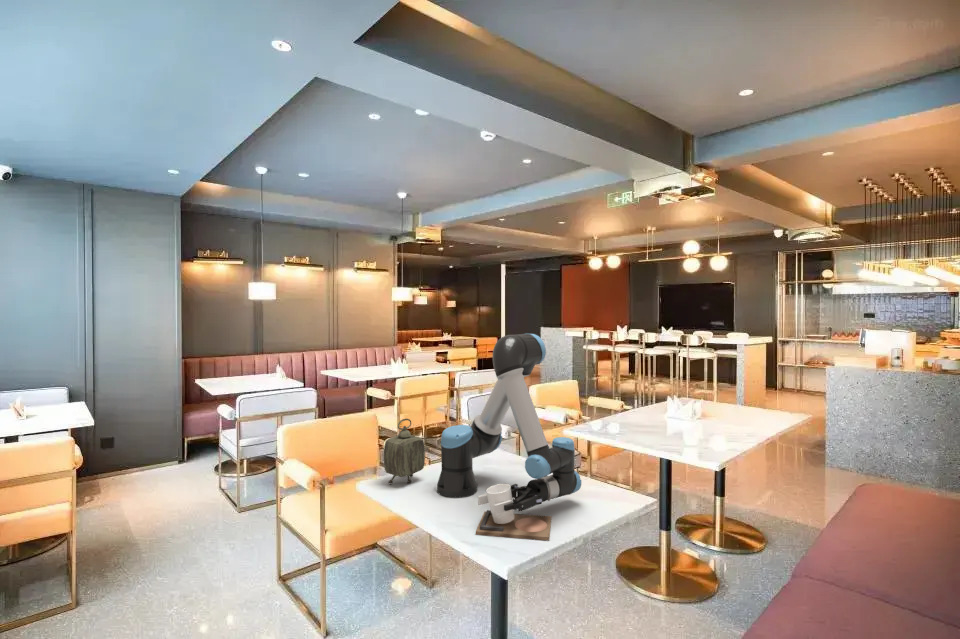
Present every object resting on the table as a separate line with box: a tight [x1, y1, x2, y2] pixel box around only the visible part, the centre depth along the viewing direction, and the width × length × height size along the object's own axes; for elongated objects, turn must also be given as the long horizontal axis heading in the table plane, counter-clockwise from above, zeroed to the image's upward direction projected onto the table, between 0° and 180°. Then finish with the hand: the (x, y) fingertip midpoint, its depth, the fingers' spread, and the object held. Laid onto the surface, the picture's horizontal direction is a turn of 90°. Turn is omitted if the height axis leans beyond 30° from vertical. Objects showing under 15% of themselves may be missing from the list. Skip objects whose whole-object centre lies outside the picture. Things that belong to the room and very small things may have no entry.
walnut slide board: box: [475, 509, 552, 542], centre depth 156 cm, size 22×15×2 cm
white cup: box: [485, 483, 515, 524], centre depth 157 cm, size 8×8×10 cm
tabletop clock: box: [383, 418, 426, 484], centre depth 196 cm, size 14×9×25 cm, turn 140°
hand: (486, 505), depth 154 cm, fingers closed on white cup, 8 cm apart
